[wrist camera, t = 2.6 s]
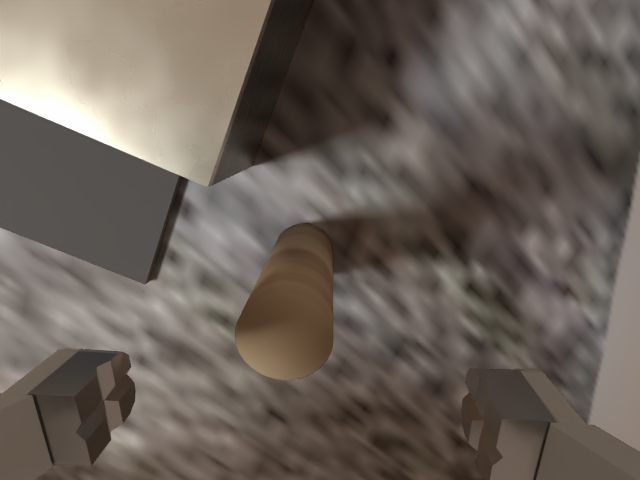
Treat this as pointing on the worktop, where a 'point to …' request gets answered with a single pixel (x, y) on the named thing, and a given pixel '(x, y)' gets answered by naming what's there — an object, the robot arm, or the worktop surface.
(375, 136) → the worktop surface
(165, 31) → the grey box with hole
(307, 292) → the tan rounded peg
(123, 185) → the mat
